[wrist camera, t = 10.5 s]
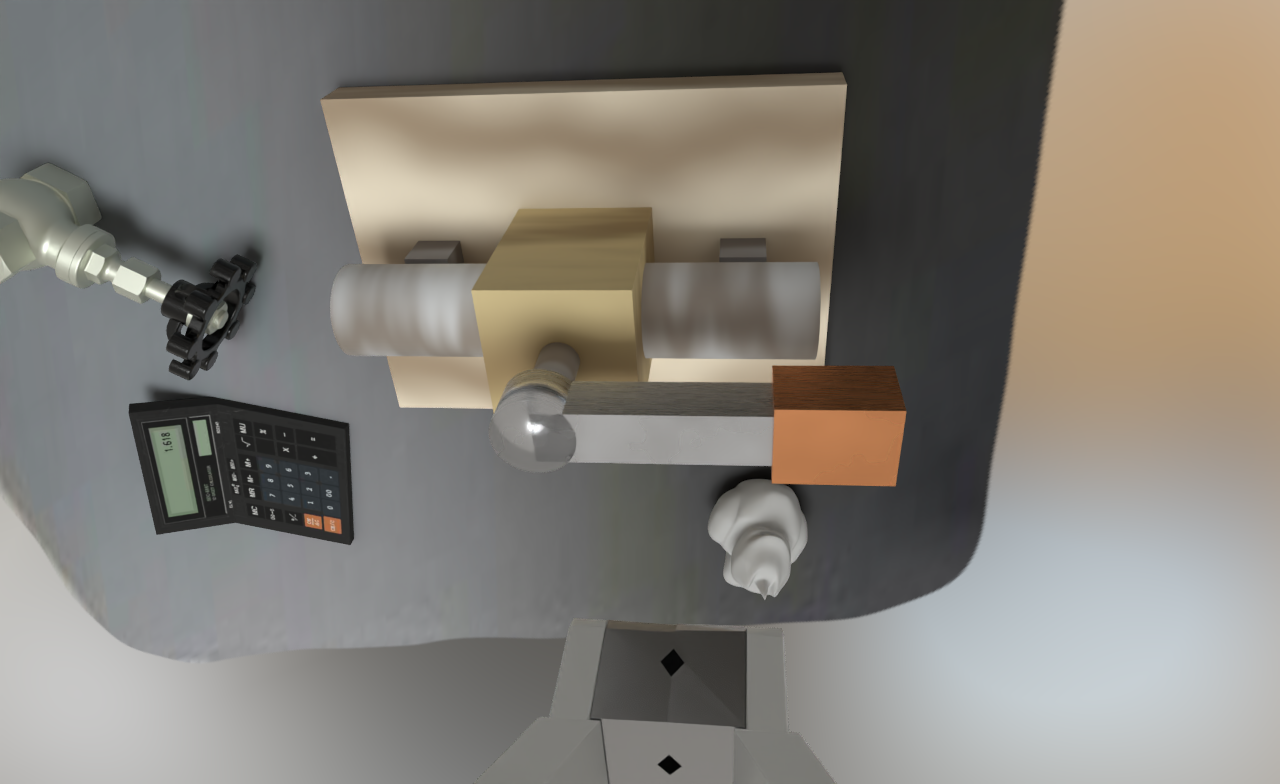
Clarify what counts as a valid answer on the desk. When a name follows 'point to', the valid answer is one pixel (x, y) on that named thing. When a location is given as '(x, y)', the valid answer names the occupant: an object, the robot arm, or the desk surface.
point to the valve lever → (711, 423)
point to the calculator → (244, 467)
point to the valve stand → (587, 229)
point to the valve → (115, 263)
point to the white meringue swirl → (759, 534)
